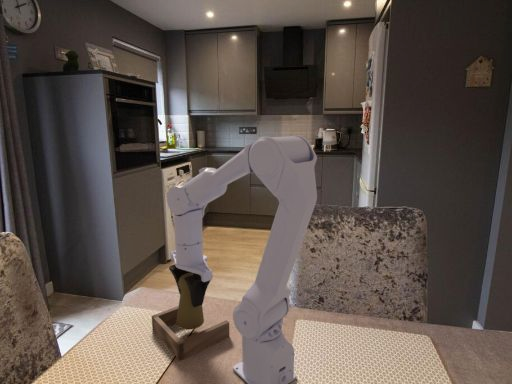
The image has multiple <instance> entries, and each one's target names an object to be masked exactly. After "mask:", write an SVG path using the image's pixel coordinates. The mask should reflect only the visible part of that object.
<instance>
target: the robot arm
mask: <svg viewBox="0 0 512 384" xmlns="http://www.w3.org/2000/svg"><path fill="white" fill-rule="evenodd" d="M317 160H318V155H317V154H316V152H315V150H314V148H313V147H312V145H311V143H310V142H309V140H308V139H307V138H306V137H304V136H302V135H298V134H294V135H290V136H271V137H270V136H261V137H258V138H256V139H255V140H254V141H253V142H250V143H247V144H246V145H244V148H242V150H241V151H239V152H238V153H237V154H236V155H234V156H232V157H231V158H230V159H229V160H228V161H226V162H225V163H223V164H222V165H221V166H219V168H215V167H202V168H200V169H198V172H199V173H198V174H197V175H196V176H194V177H190V178H188V179H186V180H185V183H184V184H182V185H173V186H172V187H171V188H169V190H168V191H167V195H166V204H167V207H168V209H169V210H170V212H171V213H172V214H173V223H174V227H173V228H174V246H175V248H174V249H175V250H173V251H170V254H169V255H170V261H172V262H174V264H172V265H170V266H169V267H168V270H169V271H170V273H171V274H172V276H173V278H174V281H175V283H176V286H177V289H178V293H179V295H180V294H181V290H180V289H179V285H178V282H179V278H180V277H181V276H182V275H183V274H186V273H193V275H191V276H188V277H185V278H184V280H185V281H186V283H187V285H188V287H189V290H190V295H191V302H192V305H193V307H197V306H200V305H202V306H203V304H204V301H205V300H204V299H205V296H206V292H207V289H208V287H209V284H210V282H211V281H212V280H213V270H212V269H210V268H209V265H208V264H207V261H208V260H209V259H208V258H209V257H208V256H206V255H205V254H204V242H203V241H204V239H203V238H204V237H203V235H204V234H203V218H204V216H205V210H206V207H207V206H208V204H209V203H211V202H213V201H215V200H216V199H218V198H219V197H221V196H224V194H225V193H226V192H227V190H228V185H229V184H231V183H232V182H235V181H237V180H239V179H241V178H243V177H244V176H247V175H249V174H254V175H255V176H256V177H257V178H258V179H259V181H261V183H262V184H263V185H264V186H265V187H266V188H267V189H268V191H269V192H270V193H271V194H272V195H273V196H274V197H275V198H276V199H277V200H278V206H277V210H276V213H275V215H274V219H273V221H272V225H271V228H270V232H269V234H268V238H267V241H266V244H265V246H264V247H265V248H264V251H263V254H262V257H261V261H260V262H259V263H260V264H259V267H258V271H257V273H256V276H255V281H254V282H253V283H252V285H250V287H249V288H248V290H246V292H245V293H244V294H243V296H242V298H241V300H240V301H241V302H240V303H239V304H238V305H237V306H236V307H234V310H233V311H232V312H233V313H232V319H233V324H234V327H235V329H236V330H237V331H238V333H239V334H240V335H241V337H242V339H241V341H242V342H241V343H242V344H241V346H242V349H241V351H242V352H241V354H242V356H241V357H242V358H241V359H242V361H239V362H238V363H236V364H234V365H233V366H232V370H233V371H234V372H235V373H236V374H237V375H238V376H239V377H240V378H241V379H242V380H244V382H246V383H247V384H290V383H291V382H293V381H295V380H296V379H297V374H296V373H295V372H294V370H295V348H294V346H293V345H292V343H290V341H289V340H288V339H287V338H286V337H285V335H284V333H283V330H282V329H283V327H282V326H283V324H284V318H285V317H286V316H287V315H288V314H289V312H290V308H291V307H290V296H291V294H292V293H291V292H292V290H291V289H290V287H289V286H288V282H289V279H290V276H291V274H292V271H293V269H294V266H295V263H296V261H297V257H298V254H299V251H300V249H301V245H302V243H303V241H304V237H305V235H306V231H307V229H308V227H309V224H310V221H311V219H312V215H313V213H314V211H315V207H316V204H317V200H318V191H317V183H316V182H317V181H316V171H315V166H316V163H317Z"/></svg>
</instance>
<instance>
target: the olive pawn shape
mask: <svg viewBox="0 0 512 384" xmlns="http://www.w3.org/2000/svg"><path fill="white" fill-rule="evenodd" d="M191 275H193V273H186V274H183V275H182V276H181V277H180V278H179V282H178V285H179V289H180V290H181V294H180V293H179V302H178V306H179V307H178V314H177V321H176V323H175V324H176V325H177V327H179V328H180V329H182V330H195V329H197V328H199V327H201V326H203V324H204V321H205V318H204V310H203V309H204V308H203V304H202V305H200V306H197V307H193V305H192V302H191V295H190V290H189V287H188V285H187V283H186V281H185V280H184V278H185V277H188V276H191Z"/></svg>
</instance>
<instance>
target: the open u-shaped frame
mask: <svg viewBox="0 0 512 384" xmlns="http://www.w3.org/2000/svg"><path fill="white" fill-rule="evenodd" d="M178 307H179V305H177V306H175V307H172V308H169V309H167V310H164V311H161V312H158V313H155V314H152V315H151V325H152V331H153V332H154V333H155V335H156V336H157V337H158V338H159V339H160V340H161V341H162V342H163V344H164V345H165V346H166V347H167V348H168V349H169V351H171V352H172V354H173V356H175V358H177V360H179V361H182V360H184V359H186V358H189V357H190V356H193V355H194V354H196V353H198V352H201V351H202V350H205V349H206V348H209V347H211V346H213V345H215V344H217V343H219V342H221V341H224V340H226V339H227V338H230V322H229V320H227V319H226V320H223V321H222V322H219V323H217V324H215V325H212V326H211V327H207V328H206V329H204V330H201V331H199V332H196V333H194V334H192V335H189V336H187V337H186V338H183V339H181V338H179V336H177V334H176V333H175V332H174V331H173V330H172V329H171V328H170V326H173V325H176V324H177V323H176V321H177V314H178Z"/></svg>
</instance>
